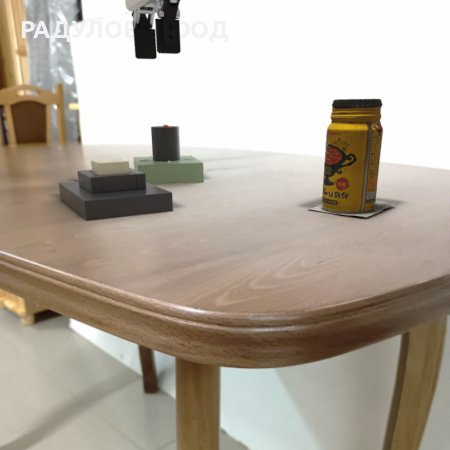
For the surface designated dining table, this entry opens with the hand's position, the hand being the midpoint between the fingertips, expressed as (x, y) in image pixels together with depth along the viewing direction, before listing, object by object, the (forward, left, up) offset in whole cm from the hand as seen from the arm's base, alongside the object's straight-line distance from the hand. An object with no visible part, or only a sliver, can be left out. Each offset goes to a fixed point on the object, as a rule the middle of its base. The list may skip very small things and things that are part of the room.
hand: (156, 56), depth 69 cm
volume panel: (-4, +2, -18) cm, 18 cm away
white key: (+13, -12, -14) cm, 23 cm away
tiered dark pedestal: (+13, -12, -18) cm, 25 cm away
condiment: (+29, +12, -18) cm, 37 cm away
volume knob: (-4, +2, -15) cm, 15 cm away
